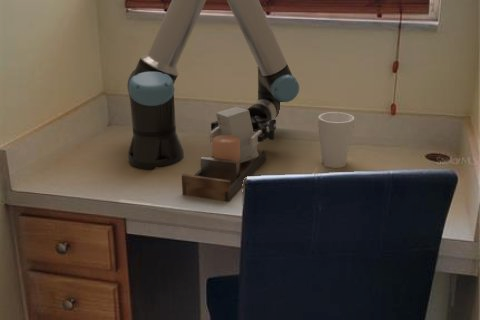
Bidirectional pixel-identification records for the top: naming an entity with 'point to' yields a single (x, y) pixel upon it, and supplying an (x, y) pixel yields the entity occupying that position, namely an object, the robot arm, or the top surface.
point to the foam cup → (335, 137)
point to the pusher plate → (219, 168)
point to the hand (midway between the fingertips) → (231, 140)
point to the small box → (238, 130)
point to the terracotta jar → (226, 148)
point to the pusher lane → (220, 182)
